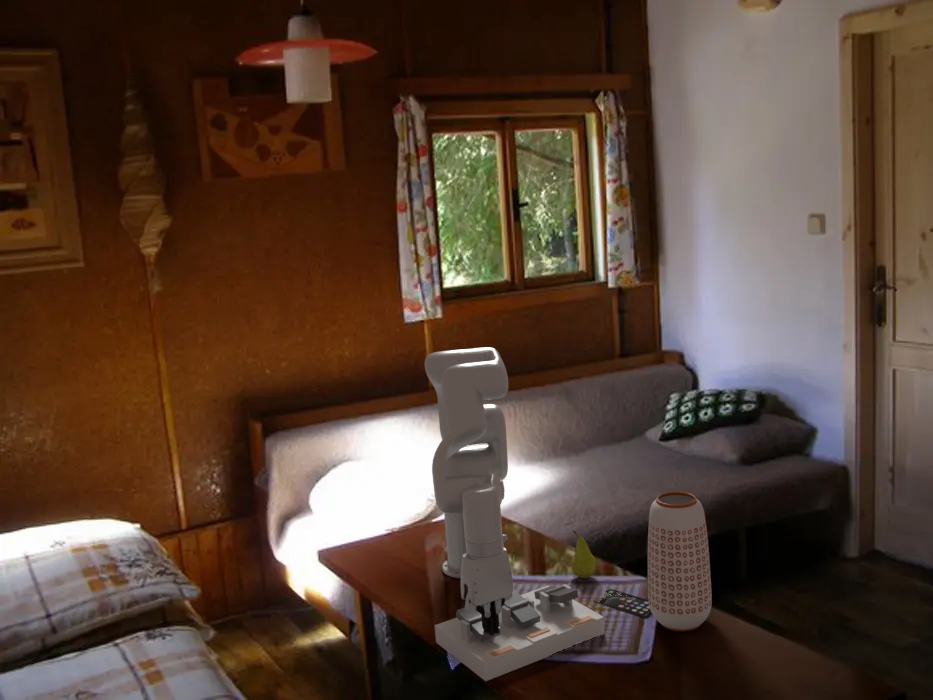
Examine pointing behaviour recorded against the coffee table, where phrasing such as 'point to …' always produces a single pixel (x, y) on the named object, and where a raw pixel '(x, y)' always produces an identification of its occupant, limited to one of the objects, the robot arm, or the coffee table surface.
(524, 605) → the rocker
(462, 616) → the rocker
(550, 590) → the rocker
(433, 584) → the coffee table surface
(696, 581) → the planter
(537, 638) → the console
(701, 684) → the coffee table surface
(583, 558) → the fruit
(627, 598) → the smartphone
